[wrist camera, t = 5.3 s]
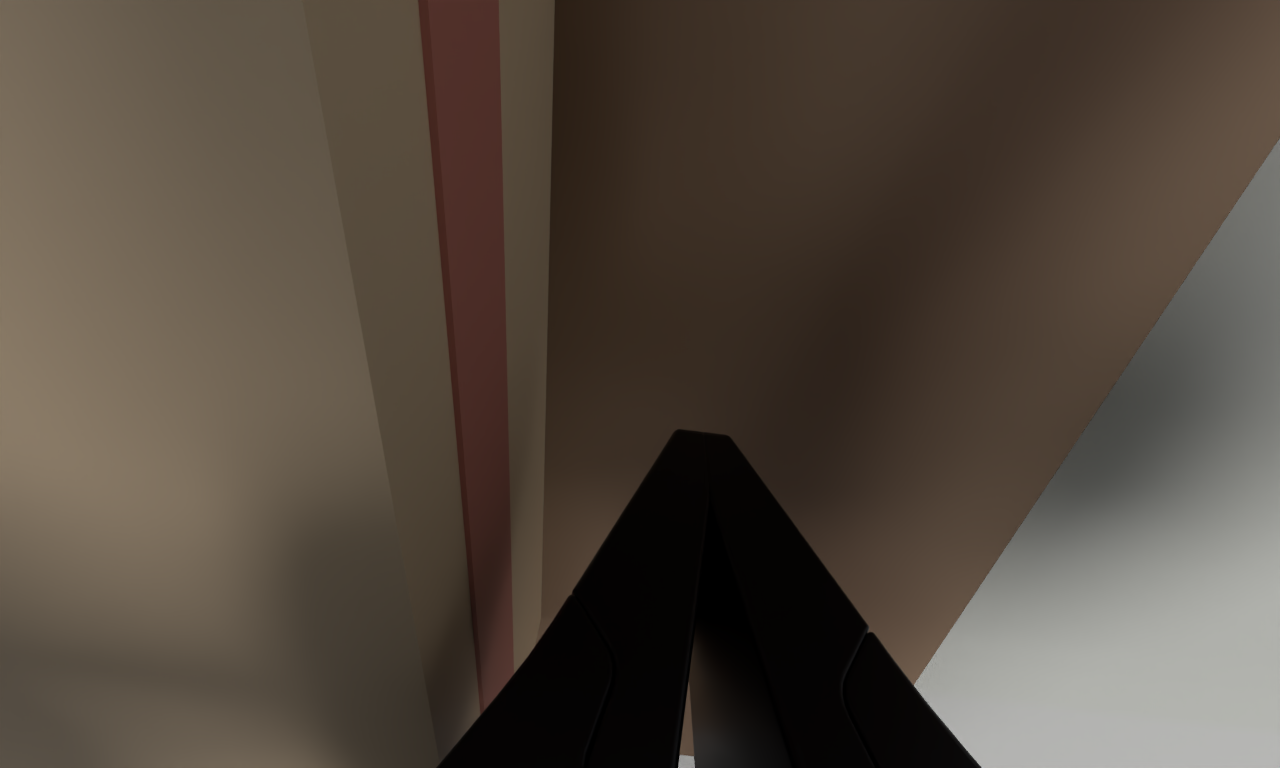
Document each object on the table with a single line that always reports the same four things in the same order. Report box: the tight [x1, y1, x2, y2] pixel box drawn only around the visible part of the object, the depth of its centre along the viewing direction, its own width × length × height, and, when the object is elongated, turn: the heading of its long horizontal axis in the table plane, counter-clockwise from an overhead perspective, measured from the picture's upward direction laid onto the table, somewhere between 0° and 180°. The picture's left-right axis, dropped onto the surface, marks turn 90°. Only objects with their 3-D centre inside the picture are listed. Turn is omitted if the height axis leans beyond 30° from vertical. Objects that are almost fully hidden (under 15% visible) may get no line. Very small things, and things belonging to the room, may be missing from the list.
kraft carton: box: [0, 0, 555, 768], centre depth 7 cm, size 9×12×5 cm
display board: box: [535, 0, 1280, 756], centre depth 9 cm, size 19×22×3 cm
